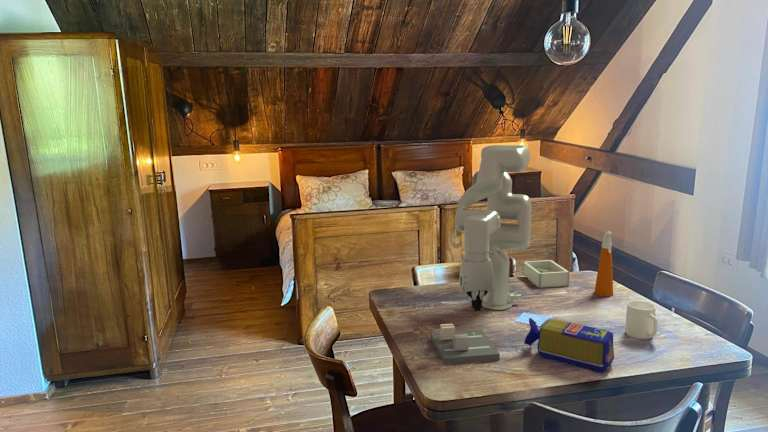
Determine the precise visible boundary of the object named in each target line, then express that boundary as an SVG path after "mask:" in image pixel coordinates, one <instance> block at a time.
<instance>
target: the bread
mask: <svg viewBox="0 0 768 432" xmlns="http://www.w3.org/2000/svg"><path fill="white" fill-rule="evenodd" d="M528 324H529V327H530V329H529V331H528V333H527V335H526V336H525V339H524V342H523V343H524V345H528V346H529V348H531V346H532V345H533V344H534V343H536V341H538V342H537V352H538V356H539V358H544V359H547V360H551V361H555V362H559V363H562V364H567V365H570V366H573V367H578V368H581V369H586V370H589V371H593V372H596V373H600V374H604V373H605V372H606V371H607V370H608V369H609V368H610V366H611V365H612V363H613V361H614V359H615V352H614V351H615V350H614V332H612V331H610V330H605V329H602V328H597V327H592V326H589V325H584V324H581V323H574V322H569V321H565V320H561V319H555V318H550V319H547V320H546V321H544V323H543V324H541V326H540V327H539V328H538V324H537V322H536V321H535V320H534V319H533V318H530V317H528Z"/></svg>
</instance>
